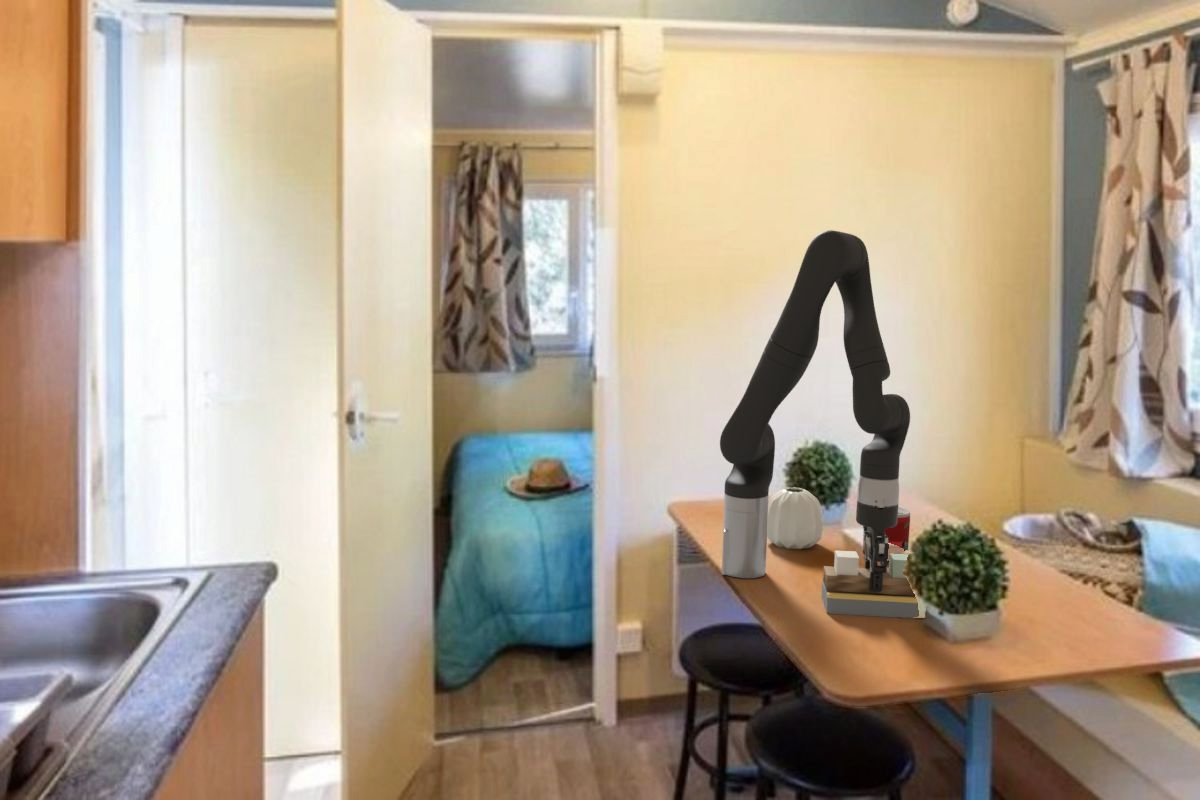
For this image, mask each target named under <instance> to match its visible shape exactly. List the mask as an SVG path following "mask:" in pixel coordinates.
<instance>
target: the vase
mask: <svg viewBox="0 0 1200 800" xmlns="http://www.w3.org/2000/svg"><path fill="white" fill-rule="evenodd" d="M823 530H824V517H823V511H822V506H821V502H820V501H819V499H818V498H817V497H816V496H814V495H813V494H812V493H811V492H810V491H808V490H806V489H805V488H801V487H793V486H792V487H786V488H782V489H780V490H778V491H777V492H775V493H774V494H773V495H772V496H771V497H769V498H768V521H767V539H768V540H769V542H770V543H771V544H774V545H775V546H777V547H779V548H785V549H789V550H791V549H795V550H801V549H811V548H812V547H813V546H815V545H817V543H819V542H820V540H821V539H822V535H823Z"/></svg>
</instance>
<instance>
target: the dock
mask: <svg viewBox="0 0 1200 800" xmlns="http://www.w3.org/2000/svg"><path fill="white" fill-rule="evenodd" d="M821 584H822V585H821V599H822V602H823V605H824V609H825V611H826V614H831V615H833V614H834V615H835V614H836V615H849V616H850V615H851V616H865V617H885V618H898V617H900V618H899V619H912V618H911V617H918V616H919V610H918V602H917V599H916V597H915V596H911V595H894V594H877V593H861V592H844V591H827V590H826V587H825V585H824V582H823V581H821ZM901 617H902V618H901ZM906 617H907V618H906ZM908 617H910V618H908Z"/></svg>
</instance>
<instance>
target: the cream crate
mask: <svg viewBox="0 0 1200 800" xmlns="http://www.w3.org/2000/svg"><path fill="white" fill-rule="evenodd" d="M859 565H860V557H859V555H858V553H857V551H856V550H855V551H853V550H837V549H836V550H834V561H833V567H834V569H835V572H836V574H837V575H853V576H858V571H859V568H860V566H859Z"/></svg>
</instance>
